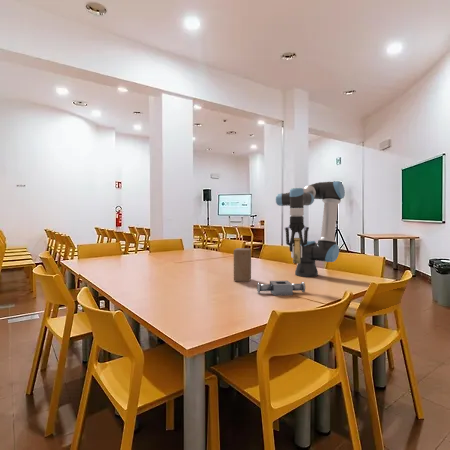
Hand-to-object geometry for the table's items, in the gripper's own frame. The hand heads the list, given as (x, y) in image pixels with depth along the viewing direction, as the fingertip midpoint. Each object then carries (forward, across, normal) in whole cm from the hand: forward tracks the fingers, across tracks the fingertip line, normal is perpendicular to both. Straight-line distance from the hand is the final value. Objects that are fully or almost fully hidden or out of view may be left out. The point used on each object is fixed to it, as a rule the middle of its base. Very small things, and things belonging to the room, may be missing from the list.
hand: (296, 257), depth 175 cm
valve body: (+18, +11, +9) cm, 23 cm away
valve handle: (+3, 0, 0) cm, 3 cm away
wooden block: (+18, +28, -23) cm, 41 cm away
